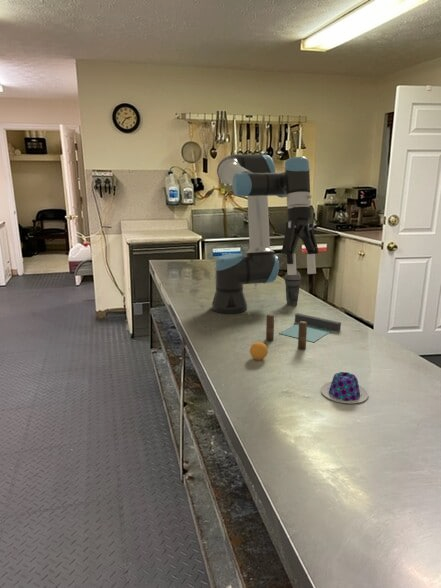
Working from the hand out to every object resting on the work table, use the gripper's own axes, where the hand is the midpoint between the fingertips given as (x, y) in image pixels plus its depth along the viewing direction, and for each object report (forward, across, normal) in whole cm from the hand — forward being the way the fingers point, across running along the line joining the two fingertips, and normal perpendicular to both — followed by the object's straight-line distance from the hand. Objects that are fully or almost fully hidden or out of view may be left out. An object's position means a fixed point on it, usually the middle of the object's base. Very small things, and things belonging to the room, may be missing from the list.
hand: (302, 274), depth 138 cm
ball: (+23, -13, +10) cm, 28 cm away
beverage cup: (+13, +45, +29) cm, 55 cm away
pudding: (+32, -17, -19) cm, 41 cm away
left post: (+22, +3, +15) cm, 27 cm away
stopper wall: (+20, +26, +8) cm, 34 cm away
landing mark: (+21, +17, +8) cm, 28 cm away
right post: (+24, +3, +3) cm, 25 cm away
